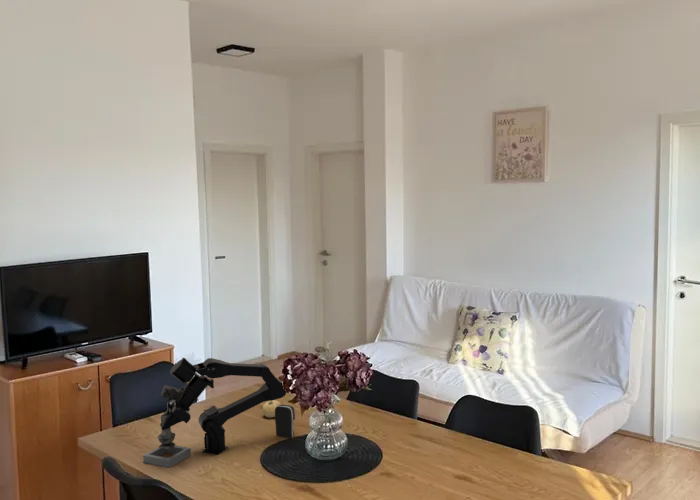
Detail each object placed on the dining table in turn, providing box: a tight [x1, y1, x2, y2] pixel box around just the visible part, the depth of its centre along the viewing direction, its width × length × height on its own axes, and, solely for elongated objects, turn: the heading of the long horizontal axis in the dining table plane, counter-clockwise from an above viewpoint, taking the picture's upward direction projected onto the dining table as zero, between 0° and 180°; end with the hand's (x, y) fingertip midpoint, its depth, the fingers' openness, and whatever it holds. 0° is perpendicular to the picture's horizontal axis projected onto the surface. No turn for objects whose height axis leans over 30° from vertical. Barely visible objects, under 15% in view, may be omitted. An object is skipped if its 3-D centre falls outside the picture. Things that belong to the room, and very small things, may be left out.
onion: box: [261, 399, 282, 418], centre depth 260 cm, size 8×8×7 cm
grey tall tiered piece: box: [157, 411, 176, 449], centre depth 220 cm, size 6×6×12 cm
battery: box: [274, 404, 296, 439], centre depth 239 cm, size 7×4×11 cm, turn 67°
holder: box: [142, 444, 192, 469], centre depth 221 cm, size 11×11×2 cm
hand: (161, 427), depth 220 cm, fingers closed on grey tall tiered piece, 3 cm apart
